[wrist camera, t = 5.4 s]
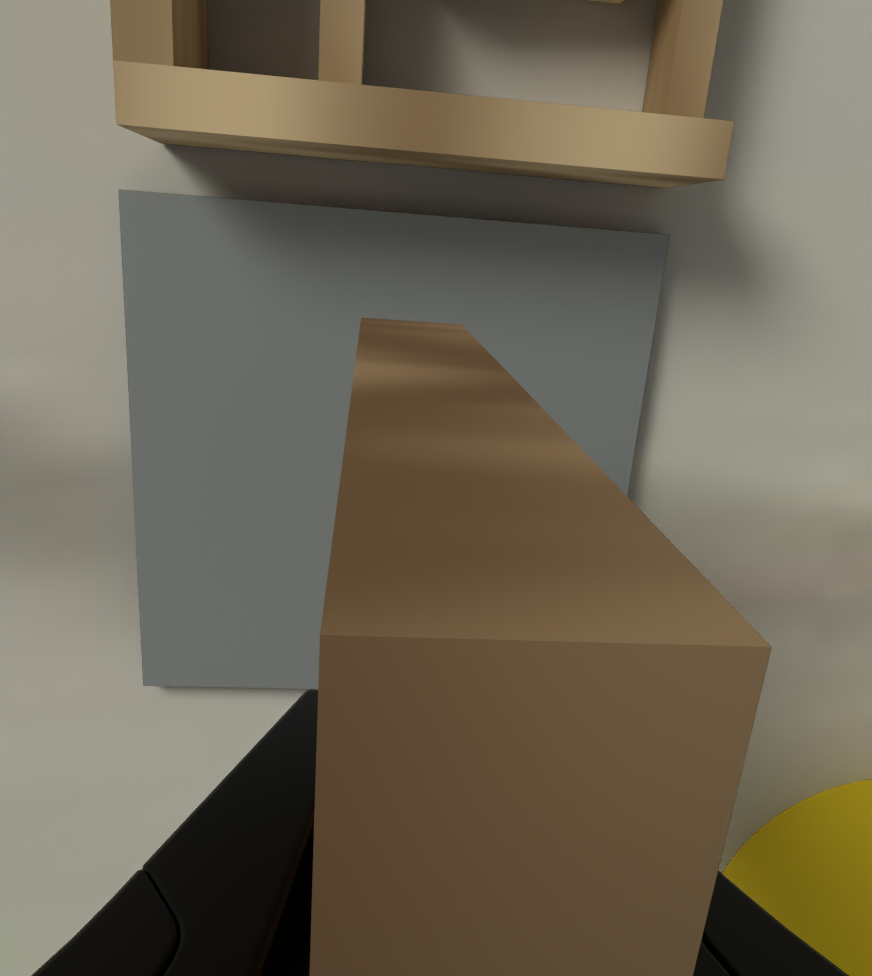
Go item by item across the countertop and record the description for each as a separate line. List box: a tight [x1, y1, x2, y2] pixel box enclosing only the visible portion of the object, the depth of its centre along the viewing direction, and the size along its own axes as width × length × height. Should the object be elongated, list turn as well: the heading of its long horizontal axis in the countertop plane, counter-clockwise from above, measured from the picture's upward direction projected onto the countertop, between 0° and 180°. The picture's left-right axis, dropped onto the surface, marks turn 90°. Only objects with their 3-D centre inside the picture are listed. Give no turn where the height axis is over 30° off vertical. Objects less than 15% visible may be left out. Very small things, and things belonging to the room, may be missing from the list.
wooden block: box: [310, 318, 771, 976], centre depth 9 cm, size 2×8×10 cm, turn 176°
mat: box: [119, 190, 669, 689], centre depth 19 cm, size 12×12×1 cm
